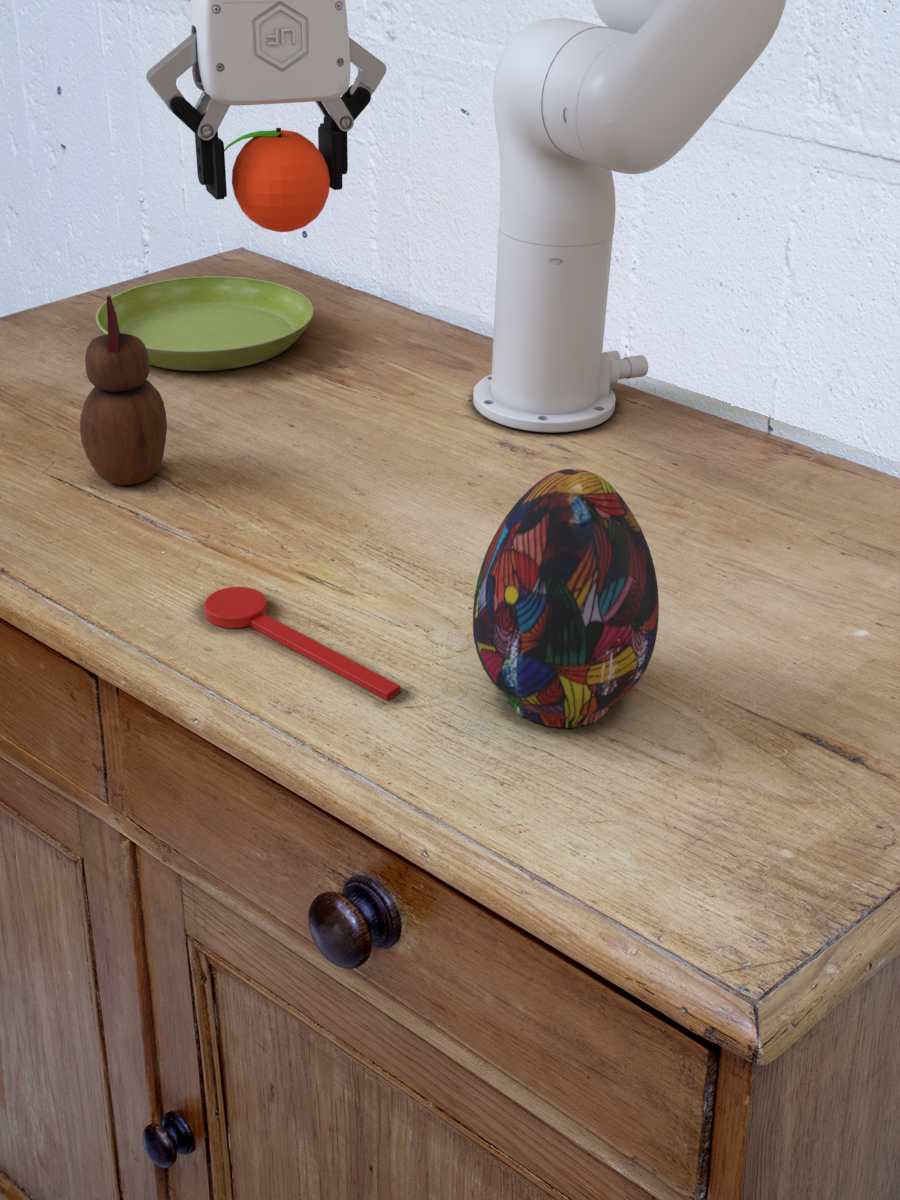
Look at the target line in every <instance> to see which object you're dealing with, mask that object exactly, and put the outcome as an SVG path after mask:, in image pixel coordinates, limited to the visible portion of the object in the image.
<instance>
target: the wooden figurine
mask: <svg viewBox="0 0 900 1200" xmlns="http://www.w3.org/2000/svg"><path fill="white" fill-rule="evenodd" d="M111 297H112V295H107V296H106V301H107V320H108V334H101V335H99V336H97V337H95V338H92V339H91V341H90V342H89V344H88V345H87V347H86V351H85V355H84V357H85V358H84V363H85V372H86V373H85V374H86V377H87V379H88V380H89V383H90V384H91V385H93V388H91V390H90V391H89V393H88V395H87V396H86V398H85V400H84V402H83V406H82V410H81V413H80V417H79V420H80V421H79V426H80V427H79V433H80V441H81V445H82V448H83V450H84V454H85V456H86V457H87V459H88V461H89V463H90V465H91V466H92V468H93V470H94V471H95V473H96V474H97V475H98V476H99V477H100V478H101V479H102V480H103V481H106V482H108V483H111V484H113V485H119V486H133V485H137V484H140V483H143V482H145V481H147V480H149V479H150V478H152V477H153V476H155V474H156V473H157V472H158V471H159V468H160V467H161V464H162V461H163V458H164V455H165V454H164V453H165V449H166V448H165V447H166V441H167V432H168V421H167V420H168V419H167V413H166V407H165V403H164V400H163V397H162V396H161V393H160V391H158V389H157V388H156V387H155V386H154V385H153V384H152V383H151V382H150V380H148V377H149V374H150V370H151V369H150V365H149V359H148V352H147V349H146V347H145V344H144V343H143V342H142V341H141V340H140V339H139V338H138V337H136V336H133V335H130V334H123V333H120V331H119V326H118V321H117V316H116V312H115V310H114V306H113V304H112V299H111Z"/></svg>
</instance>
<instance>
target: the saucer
mask: <svg viewBox="0 0 900 1200" xmlns="http://www.w3.org/2000/svg"><path fill="white" fill-rule="evenodd" d="M111 299H112V304H113V306H114V310H115V312H116V316H117V321H118V326H119V331H120V333H123V334H130V335H133V336H136V337H138V338H139V339H140V340H141V341H142V342H143V343H144V344H145V347H146V349H147V352H148V359H149V366H152V367H157V368H162V369H167V370H173V371H184V372H214V371H224V370H225V371H226V370H233V369H239V368H244V367H248V366H253V365H256V364H259V363H262V362H265V361H267V360H270V359H272V358H274V357H277V356H278V355H280V354H281V353H283V352H284V351H286V350H287V349H288V348H289V347H291V346H292V345H293V344H294V343H295V342H296V341H298V339H299V338H300V337H301V335H302V334H303V333H304V332H305V331H306V329H307V328H308V326H309V324H310V322H311V320H312V318H313V316H314V312H315V308H314V305H313V303H312V301H311V300H310V299H309V298H308V297H307V296H306V295H305V294H303V293H301V292H300V291H298V290H296V289H294V288H292V287H289V286H287V285H284V284H282V283H281V284H280V283H277V282H273V281H269V280H268V281H267V280H263V279H257V278H250V277H241V276H226V275H225V276H222V275H217V276H216V275H208V276H207V275H206V276H205V275H204V276H203V275H201V276H188V277H177V278H172V279H165V280H164V279H163V280H158V281H153V282H149V283H144V284H141V285H137V286H133V287H131V288H129V289H126V290H124V291H120V292H119V293H117V294H115V295H113V296H111ZM95 322H96V325H97V326H98V327H99V329H100V330H101V333H103V335H105V334H108V320H107V300H105V301H104V302H103V303H102V304H101V305H100V306H99V307H98V309H97V311H96V313H95Z"/></svg>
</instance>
